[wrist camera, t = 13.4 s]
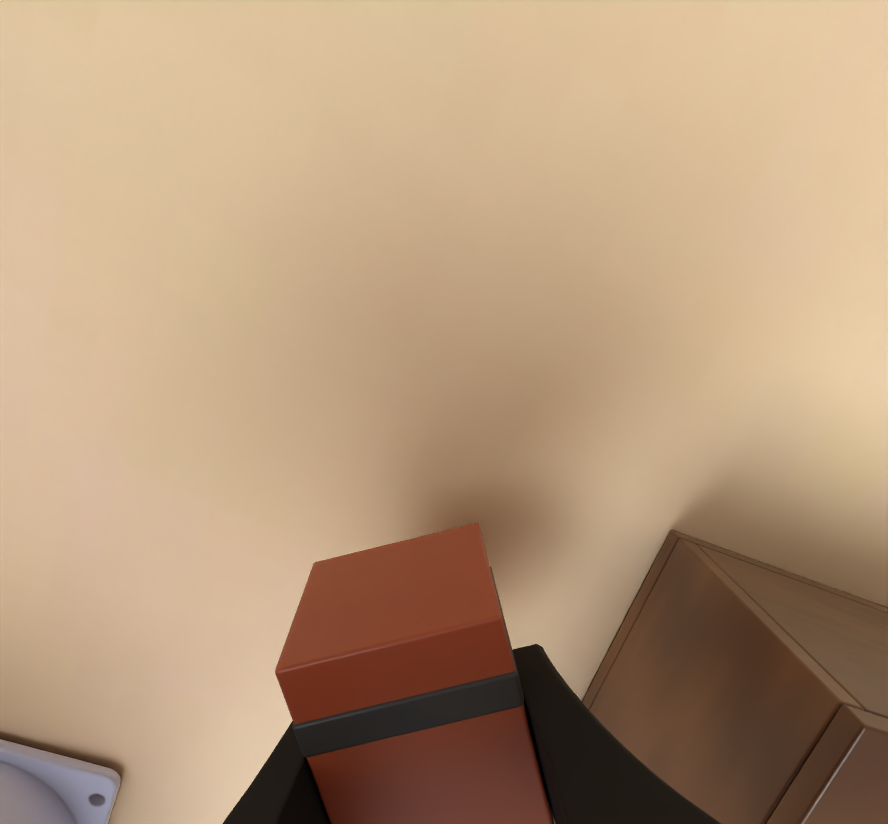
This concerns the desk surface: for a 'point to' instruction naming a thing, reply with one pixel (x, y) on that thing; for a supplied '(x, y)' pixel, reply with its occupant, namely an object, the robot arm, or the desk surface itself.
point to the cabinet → (751, 690)
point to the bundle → (411, 688)
